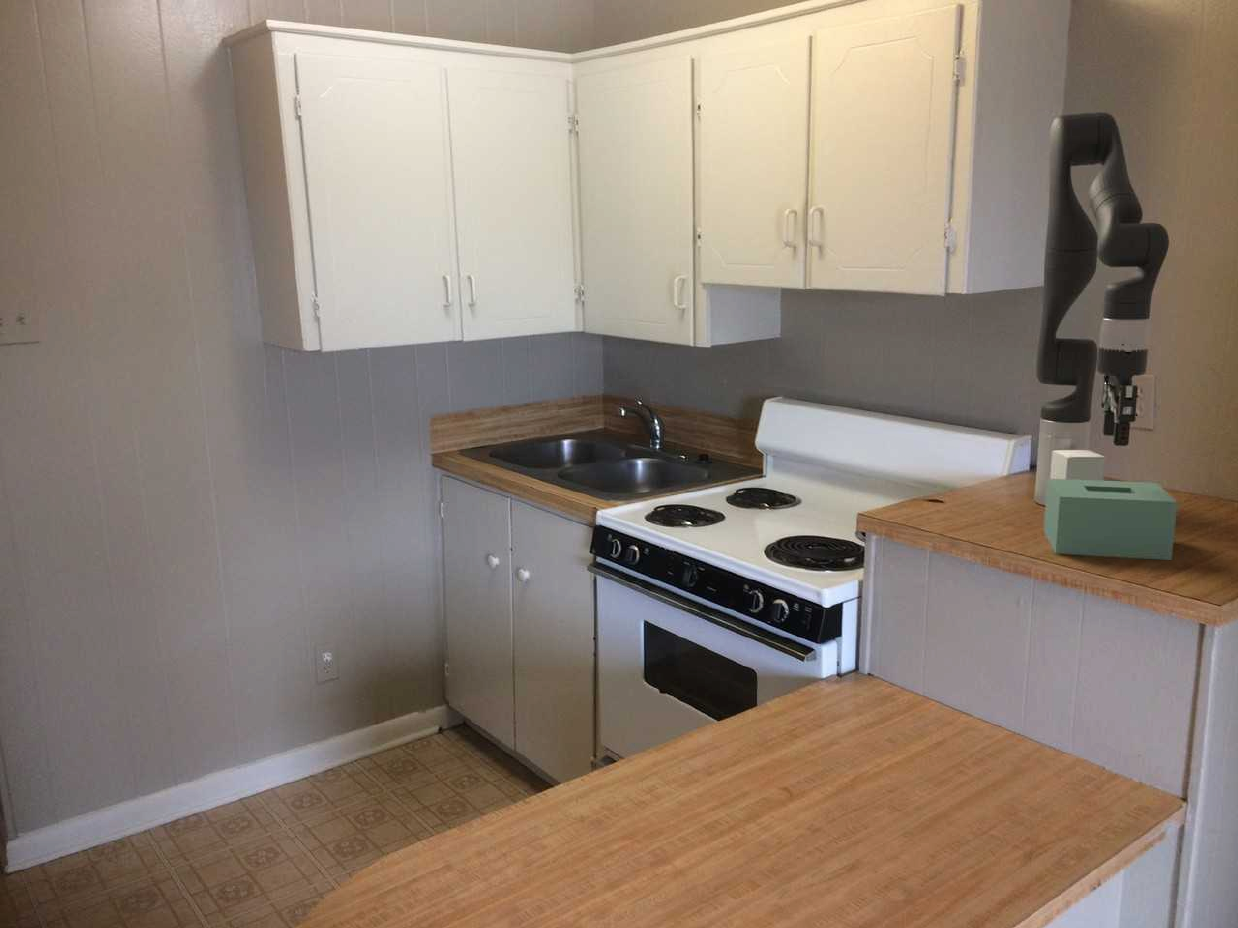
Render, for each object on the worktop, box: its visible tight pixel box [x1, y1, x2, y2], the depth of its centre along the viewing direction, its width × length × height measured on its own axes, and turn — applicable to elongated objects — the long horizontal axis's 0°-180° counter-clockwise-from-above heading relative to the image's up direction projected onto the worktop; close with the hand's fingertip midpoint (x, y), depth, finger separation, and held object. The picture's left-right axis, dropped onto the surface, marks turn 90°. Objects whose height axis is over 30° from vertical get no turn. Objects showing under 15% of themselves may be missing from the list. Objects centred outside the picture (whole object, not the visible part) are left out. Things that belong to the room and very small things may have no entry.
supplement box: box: [1050, 449, 1106, 481], centre depth 197 cm, size 7×7×13 cm
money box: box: [1043, 479, 1178, 561], centre depth 179 cm, size 14×18×10 cm
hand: (1115, 440), depth 176 cm, fingers open, 8 cm apart
